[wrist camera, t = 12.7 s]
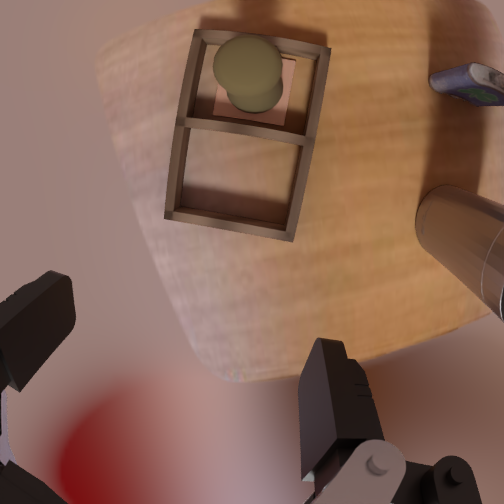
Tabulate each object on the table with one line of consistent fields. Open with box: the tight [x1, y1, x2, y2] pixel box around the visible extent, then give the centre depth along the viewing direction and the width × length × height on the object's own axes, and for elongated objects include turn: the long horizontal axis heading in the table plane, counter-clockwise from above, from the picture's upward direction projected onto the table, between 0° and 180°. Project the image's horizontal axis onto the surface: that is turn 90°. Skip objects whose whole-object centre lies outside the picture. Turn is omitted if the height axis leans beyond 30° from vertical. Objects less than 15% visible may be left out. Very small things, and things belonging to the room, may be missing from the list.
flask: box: [429, 62, 504, 107], centre depth 20 cm, size 9×3×11 cm, turn 87°
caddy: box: [164, 29, 331, 242], centre depth 28 cm, size 14×21×2 cm, turn 170°
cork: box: [213, 34, 283, 114], centre depth 22 cm, size 6×6×11 cm
